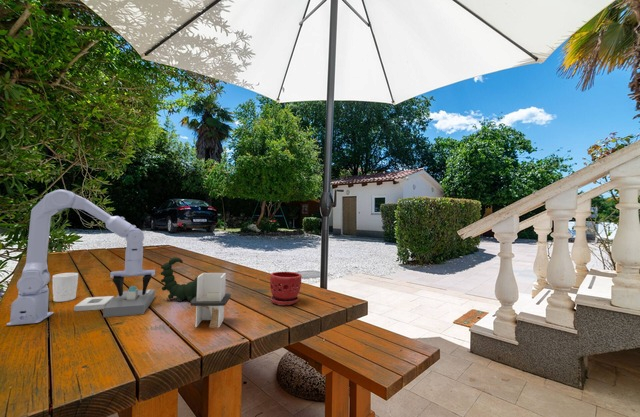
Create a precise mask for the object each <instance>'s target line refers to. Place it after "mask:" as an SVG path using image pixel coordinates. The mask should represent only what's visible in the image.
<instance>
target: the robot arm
mask: <svg viewBox="0 0 640 417" xmlns="http://www.w3.org/2000/svg"><path fill="white" fill-rule="evenodd" d="M70 208H71V209H75V210H82V211H84V212H87V213H88V214H89V215H91V216H93V217H95V218H96V219H98V220H99V221H102V222H103V223H104V224H105V228H106V229H108V230H109V231H111V232H112V233H114V234H115V235H117V236H118V237H120V238H124V239H125V241H126V248H125V255H124V256H125V257H124V259H125V260H124V270H116V271H114V270H113V271H111V272H110V274H109V275H110V277H109V278H112V282H113V283H114V285H115V287H116V289H117V293H118V295H119V296H122V295H123V291H124V280H125V279H124V278H125V277H142V290H143V291H142V295H145V294H146V290H148V285H149V283H150V281H151V280H152V277H153V276H155V275H156V269H143V258H144V247H143V246H144V240H145V236H144V232H143V231H142V230H141V229H140V228H137V226H136V225H135V224H131V223H130V222H128V221H127V220H126V218H125V217H124V216H119V215H114V216H113V215H111V214H109V213H107V212H106V211H105V210H103V209H102V208H101V207H99V206H97V205H96V204H94V203H93V202H91V201H90V200H88V199H87V198H85V197H82V196H81V195H78V194H75V192H73V191H71V190H67V189H60V188H59V189H55V190H53V191H50V192H49V193H48V192H47V193H46V194H45V195H44V197H43V198H42V199H41V200H39V202H37V204H35V205H34V206H33V207H32V209H31V212H30V220H29V229H28V238H27V239H28V240H27V248H26V260H25V265H24V267H23V268H22V273H21V276H20V278H19V279H18V280H17V283H16V288H17V290H18V292H17V293H18V294H17V298H16V299H15V300H14V301H13V302H12V303H11V306H10V321H9V322H7V323H6V325H5V326H16V325H17V326H18V325H19V326H20V325H28V324H38V323H40V322H41V323H42V322H43V321H44V320H45V319H47V318H49V317H50V316H51V315H53V314H54V311H49V294H50V290H49V289H50V288H49V287H48V286H47V284H48V283H49V282H50V281H51V274H50V272H49V270H48V268H49V266H48V261H47V260H48V252H49V251H48V250H49V242H50V229H51V220H52V217H53V216H54V215H56V214H58V213H59V212H61V211H63V210H68V209H70Z"/></svg>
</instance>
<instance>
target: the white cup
mask: <svg viewBox="0 0 640 417" xmlns="http://www.w3.org/2000/svg"><path fill="white" fill-rule="evenodd" d="M78 282H79V273H78V272H63V273H58V274H54V275H52V296H53V297H52V300H53V302H58V303H60V302H61V303H62V302H69V301H72V300H75V299H76V297H77V290H78Z"/></svg>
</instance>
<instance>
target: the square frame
mask: <svg viewBox="0 0 640 417" xmlns="http://www.w3.org/2000/svg"><path fill="white" fill-rule="evenodd" d="M114 298H115V295H106V296H105V295H104V296H92V297H85V298H84V299H83V300H81V301H80V302H78V303H77V304H75V305H74V308H73V310H74V312H85V311H96V310H97V311H98V310H104V307H105V306H107V305H108V304H109V303H110V302H111V301H112V300H113V299H114Z"/></svg>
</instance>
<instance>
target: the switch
mask: <svg viewBox="0 0 640 417" xmlns="http://www.w3.org/2000/svg"><path fill="white" fill-rule="evenodd" d="M128 291H129V290H123V295H122V296H119V294H117V295H116V296H114V299H113V300H112V301H111V302H110V303H109V304H108V305H107V306H105V307H104V309H103V312H102V313H103V314H102V315H103V318H112V317H124V316H125V317H126V316H137V315H144V314H145V313H146V311H147V310H148V308H149V307H150V305H151V304H152V302H153V301H154V299H155V298H156V288H155V289H154V288H151V289H148V288H147V289H146V294H145V295H142V291H143V289H138V298H137V299H133V300H127V292H128Z"/></svg>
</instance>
